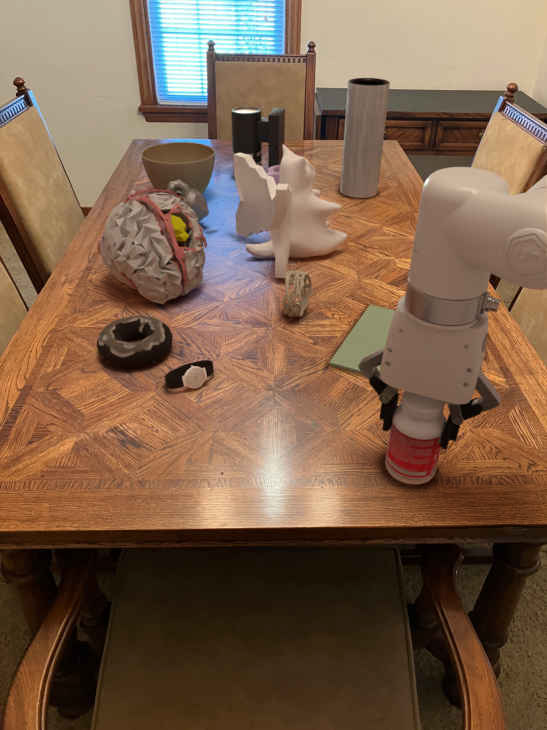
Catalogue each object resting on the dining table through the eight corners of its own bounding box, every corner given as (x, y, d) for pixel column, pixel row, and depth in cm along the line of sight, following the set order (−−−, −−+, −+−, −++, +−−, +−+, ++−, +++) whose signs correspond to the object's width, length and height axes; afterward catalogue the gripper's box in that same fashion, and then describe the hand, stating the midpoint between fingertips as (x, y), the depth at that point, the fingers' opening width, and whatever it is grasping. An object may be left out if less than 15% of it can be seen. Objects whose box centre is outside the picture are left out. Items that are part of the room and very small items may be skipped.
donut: (176, 367, 88) (174, 346, 86) (97, 377, 86) (92, 355, 84) (171, 328, 97) (169, 307, 95) (100, 336, 95) (95, 315, 93)
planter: (337, 197, 150) (345, 84, 135) (342, 184, 158) (350, 76, 143) (376, 200, 149) (388, 86, 133) (378, 187, 157) (391, 78, 141)
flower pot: (133, 206, 144) (126, 157, 137) (170, 184, 158) (165, 139, 151) (196, 216, 139) (192, 166, 132) (229, 193, 152) (227, 146, 145)
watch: (174, 399, 82) (172, 378, 80) (159, 383, 85) (156, 363, 83) (220, 380, 85) (219, 360, 83) (204, 365, 89) (203, 345, 86)
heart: (216, 233, 130) (211, 177, 124) (175, 238, 127) (168, 182, 122) (206, 224, 138) (200, 173, 133) (167, 229, 136) (160, 176, 130)
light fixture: (237, 171, 168) (235, 105, 158) (284, 173, 166) (285, 107, 156) (229, 181, 160) (227, 113, 150) (278, 184, 158) (278, 115, 148)
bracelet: (279, 323, 99) (279, 282, 94) (289, 301, 105) (290, 261, 100) (302, 326, 98) (303, 285, 93) (311, 304, 104) (313, 264, 99)
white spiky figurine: (365, 268, 116) (377, 161, 104) (268, 287, 109) (268, 175, 97) (312, 225, 135) (316, 130, 122) (226, 238, 128) (221, 140, 116)
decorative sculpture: (128, 336, 109) (156, 292, 92) (70, 244, 109) (87, 184, 92) (205, 298, 119) (243, 252, 102) (151, 214, 119) (180, 155, 102)
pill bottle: (438, 488, 68) (455, 418, 62) (386, 484, 69) (397, 414, 62) (432, 452, 73) (447, 383, 67) (383, 448, 74) (394, 380, 67)
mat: (483, 333, 96) (484, 330, 96) (459, 401, 82) (460, 398, 81) (369, 307, 103) (369, 304, 103) (328, 365, 89) (329, 362, 88)
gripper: (539, 301, 57) (497, 435, 67) (372, 266, 63) (357, 394, 73) (531, 337, 51) (487, 478, 62) (348, 296, 57) (336, 430, 68)
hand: (417, 431), depth 67 cm, fingers closed on pill bottle, 6 cm apart
